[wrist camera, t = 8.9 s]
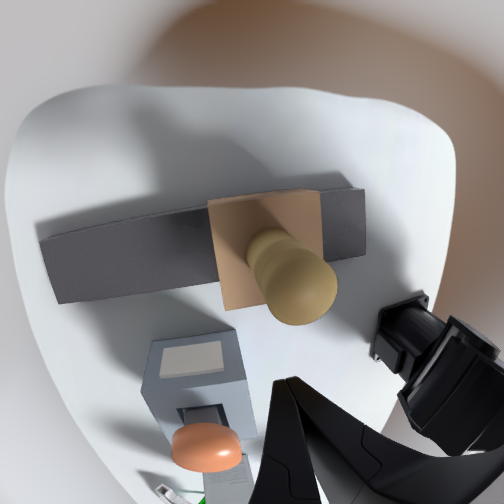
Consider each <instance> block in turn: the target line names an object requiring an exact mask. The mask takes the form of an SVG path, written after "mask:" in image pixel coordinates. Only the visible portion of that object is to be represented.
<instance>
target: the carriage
mask: <svg viewBox="0 0 504 504" xmlns="http://www.w3.org/2000/svg"><path fill="white" fill-rule="evenodd" d="M207 202H208V211H209V218H210V225H211V231H212V238H213V244H214V250H215V256H216V262H217V268H218V274H219V280H220V285H221V291H222V297H223V302H224V308H225V311H229V310H234V309H240V308H246V307H251V306H257V305H262V304H267V305H268V308H269V310H270V311H271V313H272V314H273V316H274V317H275V318H276V319H278V320H279V321H281V322H283V323H285V324H288V325H296V326H297V325H305V324H308V323H311V322H313V321H315V320H317V319H319V318H320V317H321V316H323V315H324V314H325V313H326V312H327V311H328V310H329V308H330V307H331V305H332V304H333V302H334V300H335V297H336V294H337V287H338V284H337V277H336V274H335V272H334V270H333V269H332V268H331V266H330V265H329V264H328V263H326V262H325V261H324V260H323V240H322V220H321V205H320V192H319V191H314V190H309V189H304V188H296V189H287V190H278V191H270V192H262V193H254V194H246V195H239V196H232V197H225V198H218V199H212V200H207Z"/></svg>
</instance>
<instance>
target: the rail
mask: <svg viewBox="0 0 504 504" xmlns="http://www.w3.org/2000/svg"><path fill="white" fill-rule="evenodd" d="M319 192H320V205H321V220H322V240H323V260H324V261H325V262H331V261H337V260H342V259H347V258H352V257H357V256H362V255H366V218H365V191H364V189H360V188H342V189H331V190H320V191H319ZM39 243H40V247H41V251H42V255H43V258H44V262H45V265H46V269H47V272H48V275H49V278H50V281H51V284H52V287H53V290H54V293H55V296H56V299H57V302H58V304H66V303H74V302H82V301H90V300H97V299H105V298H112V297H120V296H127V295H134V294H141V293H148V292H154V291H161V290H168V289H174V288H181V287H187V286H194V285H200V284H206V283H212V282H219V281H220V280H219V274H218V268H217V262H216V256H215V250H214V244H213V238H212V231H211V225H210V218H209V211H208V205H204V206H197V207H191V208H185V209H180V210H174V211H168V212H163V213H157V214H152V215H147V216H141V217H136V218H131V219H126V220H122V221H117V222H112V223H107V224H103V225H98V226H94V227H89V228H85V229H81V230H76V231H72V232H68V233H64V234H60V235H56V236H52V237H48V238H46V239H45V240H43V241H41V242H39Z"/></svg>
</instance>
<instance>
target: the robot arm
mask: <svg viewBox="0 0 504 504" xmlns="http://www.w3.org/2000/svg"><path fill="white" fill-rule="evenodd" d="M428 302H429V296H427V295H426V294H424V295H421V296H418V297H416V298H413V299H410V300H407V301H404V302H401V303H398V304H395V305H392V306H389V307H385V308H383V309H381V311H380V312H379V319H378V327H377V333H376V339H375V346H374V354H373V360H374V361H375V362H379V361H383V362H384V363H385V364H386V366H387V367H388V368H389V369H390V370H391V371H392V372H393V373H394V374H397V373H398V374H399V375H400V376H401V378H402V379H403V380H404V381H405V382H406V383H407V384H406V385H405V386H404V387H403V389H402V390H400V391H399V392H398V394H397V396H398V398H399V400H400V403H401V405H402V407H403V409H404V411H405V414H406V416H407V418H408V420H409V422H410V425H411V427H412V428H413V429H414V430H415V431H416V432H417V433H419V434H421V435H422V436H424V437H427V438H430V439H431V440H432V441H434V442H435V443H436V444H437V445H438V446H439V447H440V448H441V449H442V450H443V451H444V452H445V453H446V454H447V455H448V456H452V457H434V456H429V455H426V454H423V453H421V452H418V451H416V450H413V449H411V448H409V447H406V446H404V445H402V444H400V443H397V442H395V441H393V440H391V439H389V438H387V437H385V436H383V435H382V434H380V433H378V432H376V431H375V430H373V429H372V428H370V427H369V426H367V425H364V423H362V422H361V421H359V420H358V419H356V418H355V417H353V416H352V415H350V414H349V413H347V412H346V411H344V410H343V409H342V408H340V407H339V406H337V405H336V404H334V403H333V402H332V401H330V400H329V399H327V398H326V397H325V396H323V395H322V394H320V393H319V392H318V391H316V390H315V389H313V388H312V387H311V386H309V385H308V384H307V383H305V382H304V381H303V380H301V379H300V378H299V377H297V376H293V377H289V378H286V379H280V380H275V381H273V386H272V394H271V401H270V408H269V415H268V421H267V428H266V435H265V441H264V447H263V454H262V459H261V464H260V469H259V473H258V477H257V480H256V483H255V486H254V489H253V492H252V494H251V497H250V500H249V502H248V504H322V503H321V500H320V499H321V498H320V494H319V490H318V486H317V482H316V478H315V475H316V477H317V479H318V481H319V483H320V485H321V487H322V489H323V491H324V493H325V495H326V497H327V499H328V501H329V503H330V504H504V362H503V361H502V360H500V359H499V358H498V357H497V356H498V355H499V353H500V351H501V350H500V349H499V348H498V347H497V346H496V345H494V344H493V343H492V342H491V341H490V340H489V339H488V338H487V337H486V336H485V335H483V334H482V333H481V332H479V331H478V330H476V329H475V328H473V327H472V326H470V325H469V324H467V323H465V322H463V321H461V320H459V319H457V318H455V317H453V316H451V315H450V316H449V318H448V320H447V321H448V322H447V323H445V322H443V321H442V320H440V319H439V318H438V317H436V316H435V315H434V314H432V313H431V312H429V311H428V310H427V307H428ZM384 313H385V314H384ZM465 451H484V453H477V454H470V455H462V454H463V453H464V452H465ZM461 455H462V456H461ZM314 473H315V474H314Z"/></svg>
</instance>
